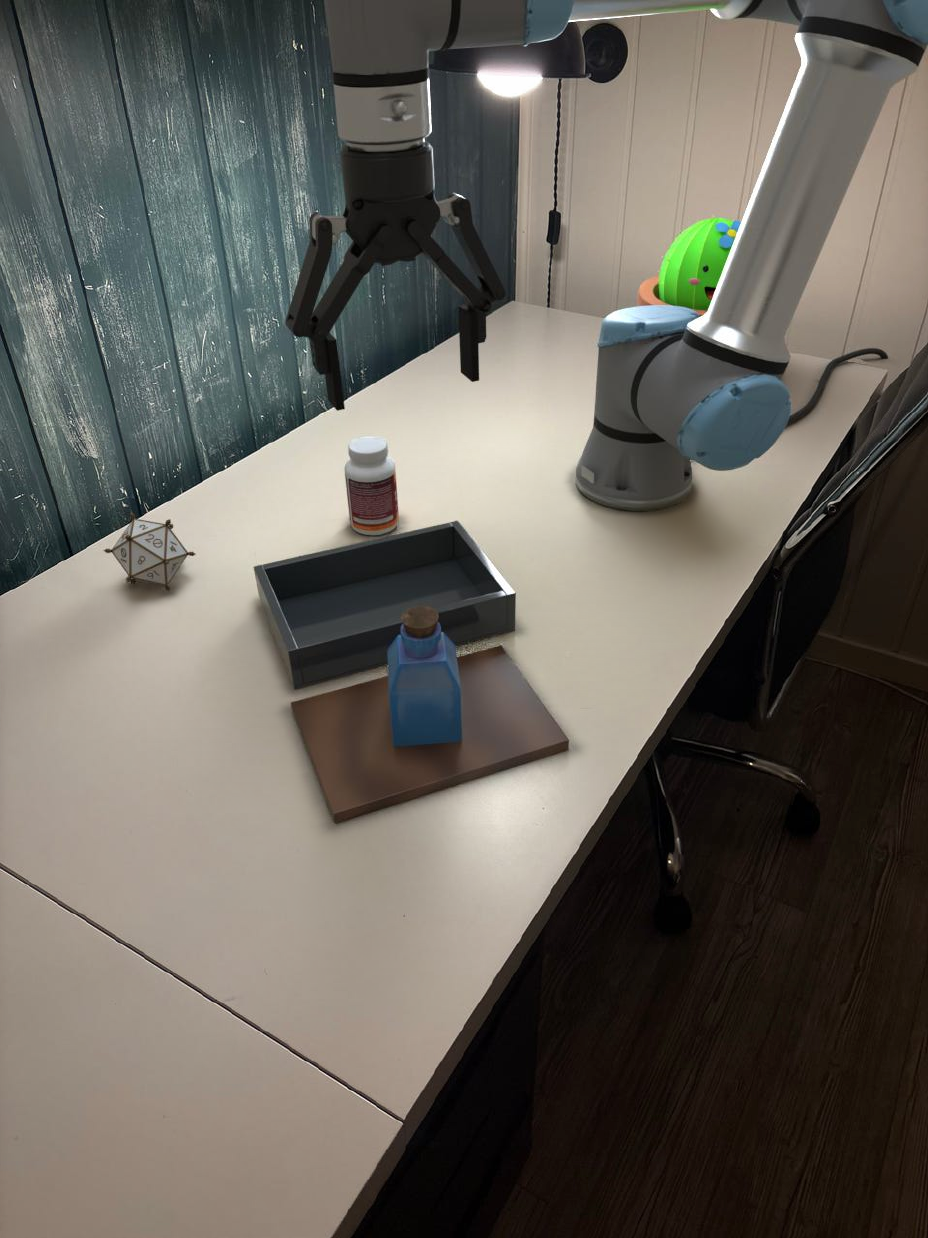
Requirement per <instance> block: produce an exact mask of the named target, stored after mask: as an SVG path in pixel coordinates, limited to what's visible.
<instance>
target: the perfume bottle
mask: <svg viewBox="0 0 928 1238" xmlns="http://www.w3.org/2000/svg"><path fill="white" fill-rule="evenodd" d="M438 617H439V615H438V613H437V612H436V611H435V610H434V609H432V608H430V607H426V606H416V607H412V608H409V609H407V610H406V611H405V612H404V613H403V614H402V617H401V619H402V622H403V624H402V626H401V635H398V636H397V637H396V639H395V640H394V641H393V643H392V644H391V646H390V647H389V648H388V650H387V655H388V665H387V676H388V685H389V703H390V714H391V725H392V737H393V747H397V746H410V745H424V744H437V743H451V742H462V718H461V688H460V680H459V672H458V664H457V657H458V656H457V650H456V649H457V648H456V646H455V645H454V644H453V643H452V641H451V640H450V639H449V638H448V637H447V636H446V635H445V634H444V633H443V632H441V626H440V624H439V622H438Z"/></svg>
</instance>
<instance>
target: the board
mask: <svg viewBox="0 0 928 1238" xmlns="http://www.w3.org/2000/svg"><path fill="white" fill-rule="evenodd" d="M456 657H457V664H458V672H459V680H460V688H461V718H462V742H451V743H437V744H424V745H410V746H397V747H393V737H392V725H391V714H390V703H389V685H388V675H386V676H382V677H379V678H375V679H371V680H368V681H365V682H361V683H357V684H353V685H350V686H346V687H342V688H337V689H335V690H332V691H328V692H324V693H320V694H317V695H312V696H309V697H306V698H301V699H298V700H293V701H291V702H290V709H291V713H292V716H293V719H294V720H295V723H296V726H297V728H298V731H299V733H300V736H301V739H302V741H303V744H304V747H305V749H306V752H307V754H308V757H309V760H310V762H311V764H312V768H313V770H314V773H315V775H316V778H317V780H318V784H319V786H320V788H321V791H322V794H323V796H324V799H325V801H326V804H327V807H328V809H329V812H330V814H331V817H332V820H333V823H334V824H337V823H340V822H343V821H347V820H350V819H353V818H356V817H359V816H362V815H365V814H369V813H371V812H374V811H375V812H376V811H378V810H381V809H384V808H388V807H390V806H393V805H397V804H400V803H403V802H406V801H409V800H413V799H415V798H419V797H422V796H425V795H429V794H432V793H435V792H437V791H441V790H444V789H447V788H450V787H453V786H457V785H460V784H463V783H466V782H470V781H472V780H475V779H479V778H482V777H485V776H489V775H491V774H495V773H498V772H502V771H504V770H507V769H511V768H513V767H516V766H520V765H524V764H527V763H529V762H533V761H536V760H539V759H542V758H545V757H549V756H551V755H555V754H558V753H562V752H564V751H567V750H569V746H570V745H569V744H570V739H569V738H568V736H567V735H566V734H565V732H564V731H563V729H562V728H561V726H560V725H559V724H558V723H557V721H556V719H555V718H554V717H553V716H552V714H551V712H550V711H549V710H548V708H547V707H546V705H545V704H544V703H543V701H542V700H541V699H540V697H539V696H538V695H537V693H536V692H535V690H534V689H533V688H532V686H531V685H530V684H529V682H528V681H527V679H526V677H525V676H524V675H523V673H522V671H520V669H519V668H518V667H517V665H516V664H515V662H514V661H513V659H512V657H510V656H509V654H508V653H507V651H506V650H505V649H504V647H503V645H502V644H500V645H496V646H492V647H489V648H485V649H482V650H478V651H474V652H470V653H466V654H463V655H459V656H456Z"/></svg>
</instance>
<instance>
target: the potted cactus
mask: <svg viewBox="0 0 928 1238" xmlns="http://www.w3.org/2000/svg"><path fill="white" fill-rule="evenodd" d="M695 221H696V222H695ZM695 221H692V223H693V224H692V225H691V226H689V227H687V228H686V227H683V231H682V229H681V228H680V229H681V230H680V229H678V230H679V231H680V232H681V234H679V235H678V237H676V236H673V239H674V241H673V242H672V244H671V245H670V246H669V245H666V247H667V248H668V250H667V252H666V253H665V256H664V255H662V254H661V258H662V263H661V267H660V271H659V274H658V270H656V269H655V273H657V274H658V275H656V276H653V277H650V278H648V279H646V280H645V281H643V282H642V283H641V284H640V286H639V287H638V291H637V293H638V294H637V304H636V306H647V305H671V306H680V307H685V308H689V309H692V310H694V311H696V312H697V313H698V314H699V317H701V316H703V315H704V314H705V313H706V312H707V311H708V309H709V306H710V303H711V301H712V298H713V296H714V293H715V290H716V288H717V285H718V283H719V280H720V277H721V275H722V272H723V269H724V267H725V264H726V262H727V259H728V256H729V254H730V251H731V249H732V246H733V243H734V241H735V238H736V235H737V233H738V230H739V228H740V225H741V222H742V221H740V220H739V218H736V219H735V217H733V219H732V220H731V219H728V217H726V218H722V217H718V215H715V216H714V214H713V213H712V218H707V219H701V220H699V219H698V218H697V219H696V220H695ZM685 228H686V229H685Z"/></svg>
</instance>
